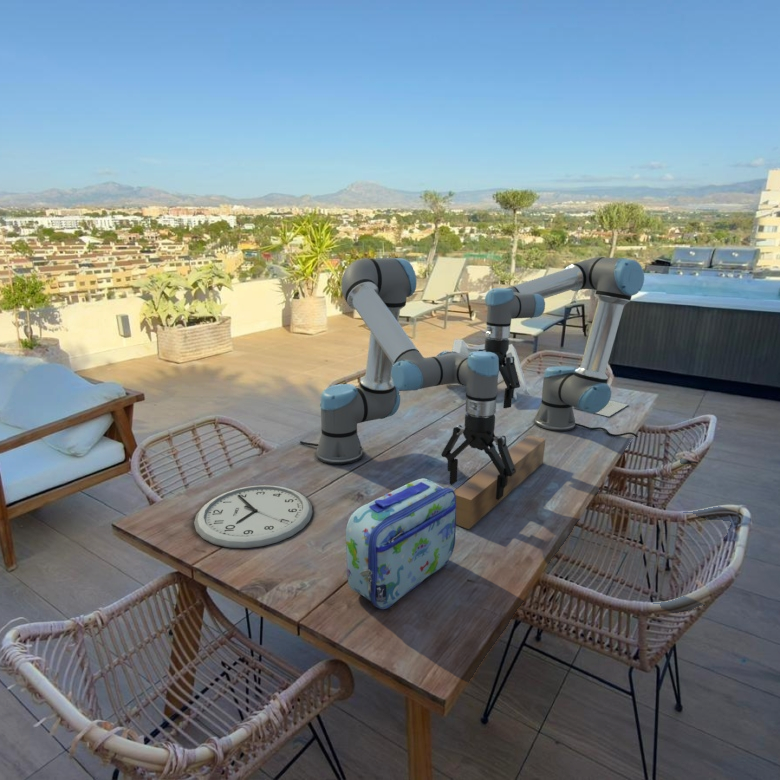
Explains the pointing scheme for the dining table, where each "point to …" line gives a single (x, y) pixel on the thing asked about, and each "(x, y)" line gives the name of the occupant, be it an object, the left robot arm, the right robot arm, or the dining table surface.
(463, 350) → the white plastic object
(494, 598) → the dining table surface
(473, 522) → the post
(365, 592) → the lunch box
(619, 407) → the invitation card
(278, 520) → the wall clock
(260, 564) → the dining table surface
